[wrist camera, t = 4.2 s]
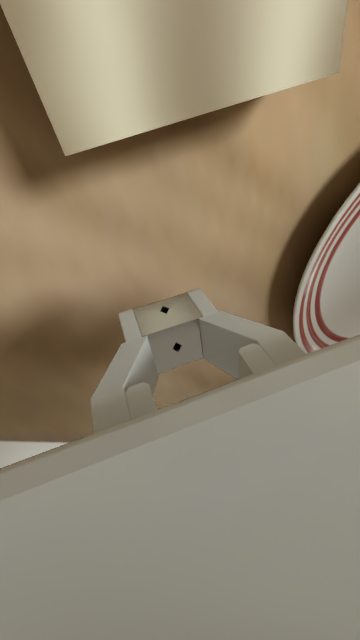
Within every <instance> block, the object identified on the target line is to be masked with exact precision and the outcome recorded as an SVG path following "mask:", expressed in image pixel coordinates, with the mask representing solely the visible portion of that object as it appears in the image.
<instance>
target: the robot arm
mask: <svg viewBox="0 0 360 640" xmlns="http://www.w3.org/2000/svg"><path fill="white" fill-rule="evenodd" d="M118 316H119V320H120V324H121V328H122V331H123V335H124V339H125V343H122V344H121V345H120V347H119V349H118V351H117V353H116V354H115V356H114V358H113V360H112V362H111V363H110V365H109V367H108V369H107V371H106V372H105V374H104V376H103V378H102V380H101V381H100V383H99V385H98V387H97V389H96V390H95V392H94V394H93V396H92V398H91V410H92V421H93V432H94V434H91V435H89V436H86V437H83V438H81V439H78V440H75V441H73V442H70V443H67V444H65V445H62V446H60V447H57V448H54V449H51V450H49V451H46V452H43V453H41V454H38V455H36V456H33V457H30V458H27V459H25V460H22V461H19V462H16V463H14V464H11V465H8V466H6V467H3V468H0V640H360V334H359V335H356V336H354V337H351V338H348V339H346V340H343V341H340V342H338V343H335V344H332V345H330V346H327V347H324V348H322V349H319V350H316V351H314V352H311V353H308V354H305V352H304V351H303V350H302V349H301V348H300V347H299V346H298V345H297V344H296V343H295V342H294V341H293V340H292V339H291V338H290V337H289V336H288V335H287V334H286V333H285V332H284V331H281V330H278V329H275V328H272V327H269V326H266V325H263V324H260V323H257V322H254V321H251V320H248V319H245V318H242V317H239V316H236V315H233V314H230V313H227V312H224V311H220V312H218V311H217V310H216V308H215V307H214V306H213V305H212V303H211V302H210V301H209V299H208V298H207V297H206V295H205V294H204V293H203V291H202V290H201V289H200V288H197V289H194V290H191V291H188V292H186V293H183V294H180V295H177V296H174V297H171V298H168V299H165V300H161V301H157V302H153V303H150V304H147V305H143V306H140V307H136V308H133V310H132V309H129V310H126V311H123V312H119V313H118ZM202 358H204V359H205V360H206V361H208V362H210V363H211V364H213V365H215V366H216V367H218V368H220V369H221V370H223V371H225V372H226V373H228V374H230V375H231V376H233V377H235V378H236V379H238V380H236V381H233V382H231V383H228V384H225V385H222V386H220V387H217V388H214V389H212V390H209V391H206V392H204V393H201V394H198V395H196V396H193V397H190V398H188V399H185V400H182V401H180V402H177V403H174V404H172V405H169V406H166V407H164V408H161V409H158V410H157V407H156V404H155V401H154V398H153V394H154V390H155V387H156V383H157V379H158V376H159V375H158V374H160V373H162V372H165V371H167V370H170V369H173V368H175V367H178V366H181V365H184V364H187V363H190V362H193V361H196V360H199V359H202Z"/></svg>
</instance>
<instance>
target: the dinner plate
mask: <svg viewBox="0 0 360 640" xmlns="http://www.w3.org/2000/svg"><path fill="white" fill-rule="evenodd" d="M293 333H294V339H295V342H296V344H297V345H298V346H299V347H300V348H301V349H302V350H303V351H304V352H305V354H308V353H311V352H314V351H316V350H319V349H322V348H324V347H327V346H330V345H332V344H335V343H338V342H340V341H343V340H346V339H348V338H351V337H354V336H356V335H359V334H360V183H359V184H358V185H357V186H356V188H355V189H354V190H353V191H352V193H351V194H350V195H349V197H348V198H347V199H346V200H345V202H344V204H343V205H342V206H341V207H340V209H339V210H338V212H337V213H336V214H335V216H334V217H333V219H332V220H331V222H330V224H329V225H328V227H327V229H326V230H325V232H324V233H323V235H322V237H321V238H320V240H319V242H318V244H317V245H316V247H315V249H314V251H313V253H312V255H311V257H310V259H309V261H308V264H307V266H306V268H305V271H304V273H303V276H302V279H301V281H300V284H299V287H298V291H297V295H296V299H295V304H294V311H293Z"/></svg>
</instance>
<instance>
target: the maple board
mask: <svg viewBox="0 0 360 640" xmlns="http://www.w3.org/2000/svg"><path fill="white" fill-rule="evenodd" d="M347 3H348V0H0V5H1V7H2V10H3V12H4V14H5V17H6V19H7V21H8V24H9V26H10V28H11V31H12V33H13V35H14V38H15V40H16V42H17V45H18V47H19V49H20V52H21V54H22V56H23V59H24V61H25V63H26V66H27V68H28V70H29V73H30V75H31V77H32V80H33V82H34V84H35V87H36V89H37V91H38V94H39V96H40V98H41V101H42V103H43V105H44V108H45V110H46V112H47V115H48V117H49V119H50V122H51V124H52V126H53V129H54V131H55V133H56V136H57V138H58V140H59V143H60V145H61V147H62V150H63V152H64V154H65V156H68V155H71V154H75V153H78V152H81V151H85V150H88V149H91V148H94V147H98V146H101V145H104V144H107V143H111V142H114V141H117V140H121V139H124V138H127V137H130V136H134V135H137V134H140V133H143V132H147V131H150V130H153V129H156V128H160V127H163V126H166V125H170V124H173V123H176V122H179V121H183V120H186V119H189V118H192V117H196V116H199V115H202V114H205V113H209V112H212V111H215V110H219V109H222V108H225V107H228V106H232V105H235V104H238V103H241V102H245V101H248V100H251V99H254V98H258V97H261V96H264V95H268V94H271V93H274V92H277V91H281V90H284V89H287V88H290V87H294V86H297V85H300V84H303V83H307V82H310V81H313V80H317V79H320V78H323V77H326V76H330V75H333V74H336V73H339V67H340V59H341V51H342V43H343V35H344V27H345V19H346V11H347Z"/></svg>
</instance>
